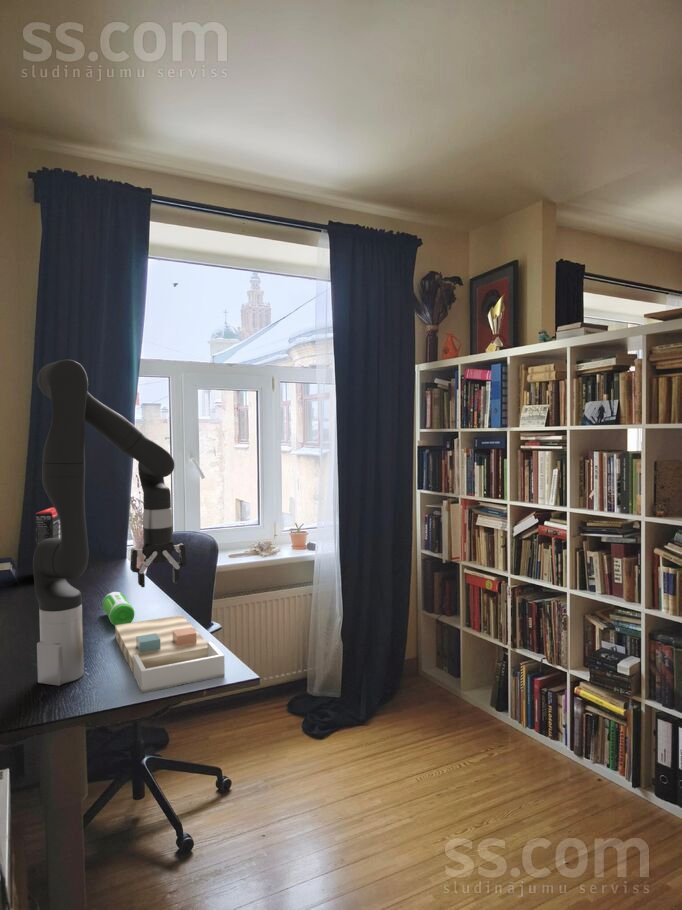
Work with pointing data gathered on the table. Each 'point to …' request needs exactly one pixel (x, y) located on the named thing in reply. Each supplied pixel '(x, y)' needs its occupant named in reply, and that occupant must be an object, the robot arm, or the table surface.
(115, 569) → the table surface
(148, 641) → the teal tile
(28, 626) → the table surface
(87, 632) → the table surface
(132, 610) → the speaker
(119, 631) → the wooden tray board
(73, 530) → the robot arm
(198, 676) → the box
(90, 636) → the table surface
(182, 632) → the terracotta tile
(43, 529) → the graphics card box
